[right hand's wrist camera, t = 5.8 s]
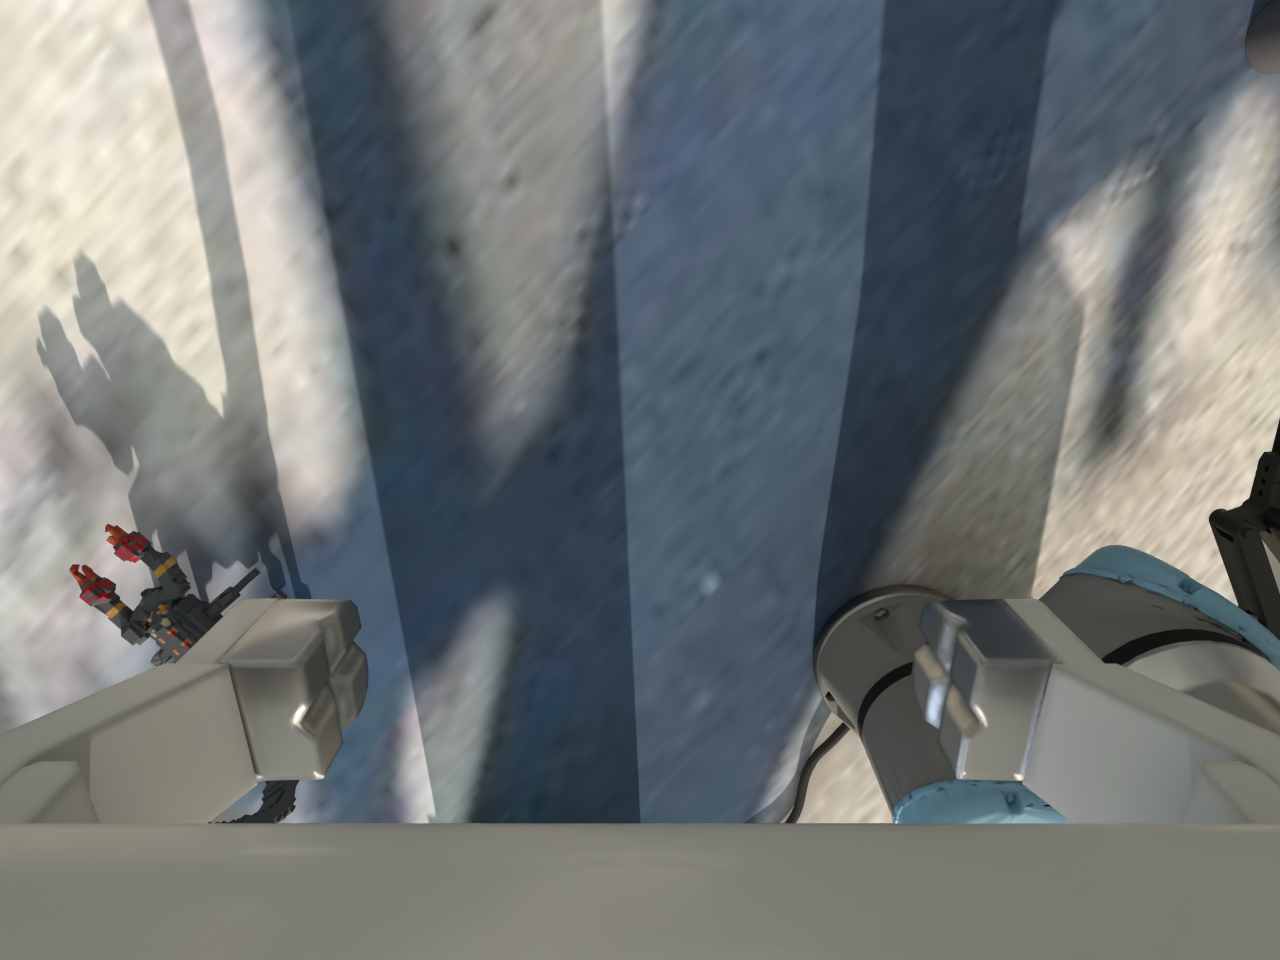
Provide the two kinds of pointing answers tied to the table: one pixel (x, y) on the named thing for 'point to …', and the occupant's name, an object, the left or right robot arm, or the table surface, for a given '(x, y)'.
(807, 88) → the table surface
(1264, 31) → the dark gray cylinder
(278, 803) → the toy
